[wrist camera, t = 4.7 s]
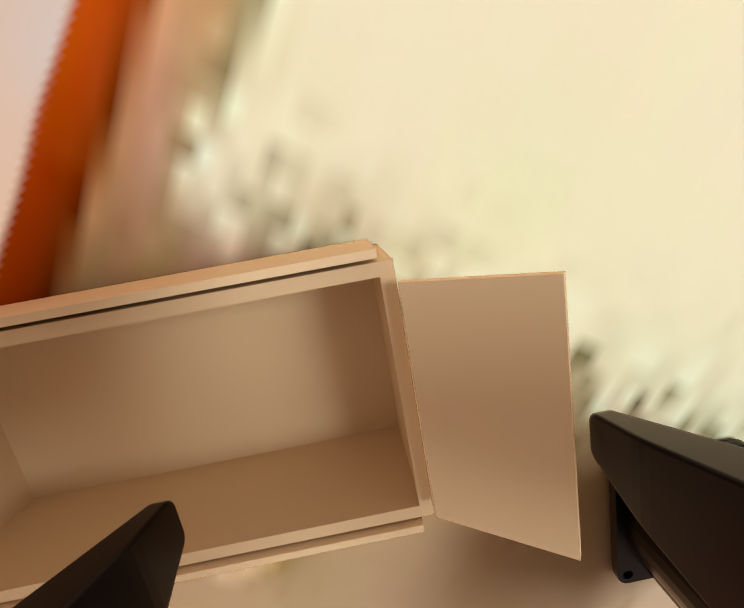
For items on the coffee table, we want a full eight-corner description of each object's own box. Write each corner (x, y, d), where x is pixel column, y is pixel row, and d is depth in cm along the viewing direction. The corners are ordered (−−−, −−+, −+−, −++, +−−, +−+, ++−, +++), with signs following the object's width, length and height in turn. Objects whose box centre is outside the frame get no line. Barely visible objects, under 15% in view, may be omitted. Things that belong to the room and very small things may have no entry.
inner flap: (436, 517, 11) (439, 511, 12) (580, 560, 9) (581, 552, 10) (397, 282, 10) (402, 280, 10) (564, 273, 8) (564, 271, 8)
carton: (409, 437, 17) (437, 531, 12) (39, 510, 17) (-93, 641, 12) (374, 234, 15) (391, 245, 10) (-50, 312, 15) (-260, 365, 9)
